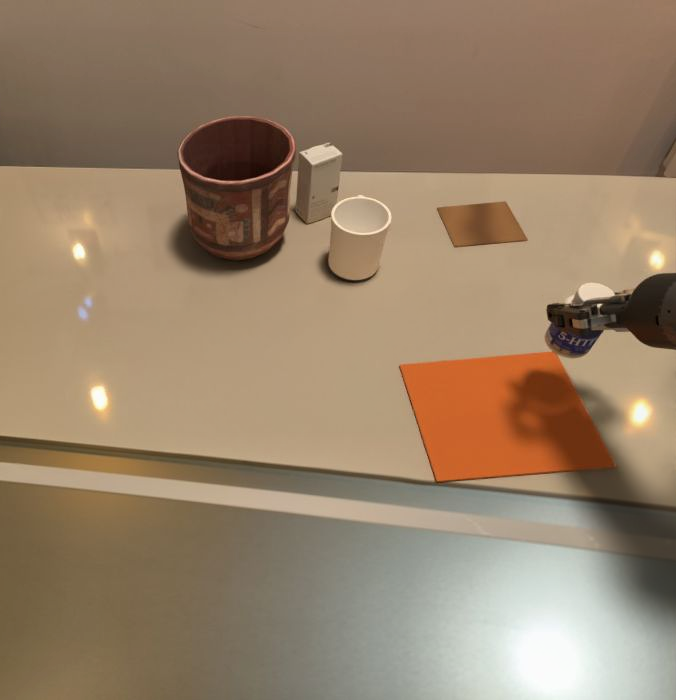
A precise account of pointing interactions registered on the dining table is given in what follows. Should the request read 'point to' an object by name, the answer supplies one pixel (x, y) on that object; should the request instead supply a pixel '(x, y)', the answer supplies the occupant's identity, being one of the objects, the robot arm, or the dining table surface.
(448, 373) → the towel
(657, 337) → the robot arm
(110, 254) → the dining table surface
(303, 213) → the cosmetic box
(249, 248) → the pottery
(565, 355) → the pill bottle
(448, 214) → the cork pad
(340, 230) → the mug
